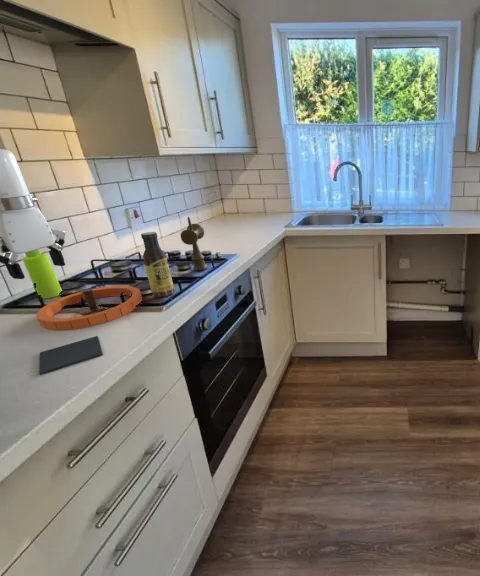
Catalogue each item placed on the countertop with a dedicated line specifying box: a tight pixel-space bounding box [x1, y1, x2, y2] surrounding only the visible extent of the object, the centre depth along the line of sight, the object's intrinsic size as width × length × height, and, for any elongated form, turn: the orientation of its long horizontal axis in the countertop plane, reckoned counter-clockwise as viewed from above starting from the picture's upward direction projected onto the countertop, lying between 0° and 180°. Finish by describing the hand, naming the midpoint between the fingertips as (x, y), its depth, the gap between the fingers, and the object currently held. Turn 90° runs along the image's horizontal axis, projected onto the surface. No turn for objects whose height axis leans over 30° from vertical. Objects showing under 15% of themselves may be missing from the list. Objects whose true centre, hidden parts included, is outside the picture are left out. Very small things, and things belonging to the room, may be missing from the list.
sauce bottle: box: [140, 231, 175, 298], centre depth 111 cm, size 7×6×20 cm
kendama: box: [180, 216, 209, 272], centre depth 132 cm, size 6×10×20 cm, turn 12°
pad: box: [38, 335, 104, 375], centre depth 84 cm, size 11×11×1 cm
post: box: [78, 288, 109, 316], centre depth 105 cm, size 7×7×6 cm
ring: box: [36, 285, 143, 331], centre depth 105 cm, size 24×24×3 cm
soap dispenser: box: [21, 249, 63, 300], centre depth 113 cm, size 6×7×20 cm
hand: (40, 271), depth 93 cm, fingers open, 9 cm apart
